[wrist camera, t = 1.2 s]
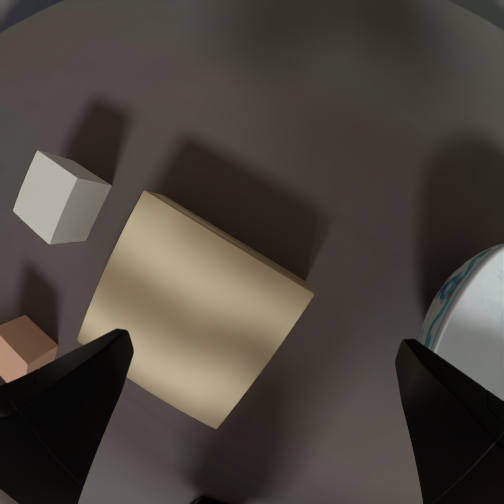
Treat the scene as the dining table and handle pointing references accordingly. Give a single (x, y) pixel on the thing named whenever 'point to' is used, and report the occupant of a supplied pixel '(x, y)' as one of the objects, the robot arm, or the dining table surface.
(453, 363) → the chinaware
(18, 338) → the terracotta cube
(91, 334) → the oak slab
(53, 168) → the grey cube
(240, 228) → the dining table surface
